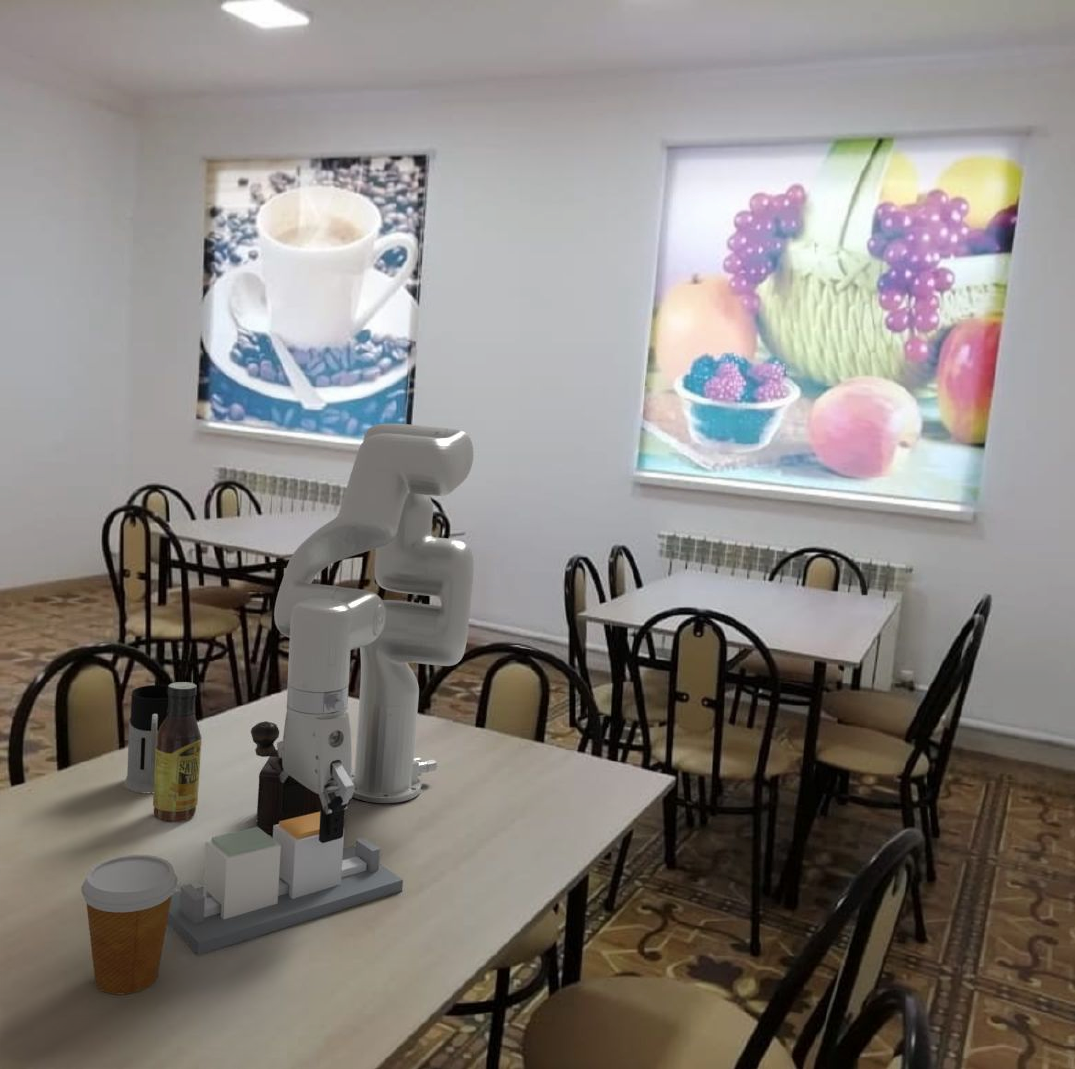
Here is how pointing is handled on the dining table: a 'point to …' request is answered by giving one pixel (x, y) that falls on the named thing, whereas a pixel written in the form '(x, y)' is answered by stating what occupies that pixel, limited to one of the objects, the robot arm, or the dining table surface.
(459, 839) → the dining table surface
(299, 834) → the module
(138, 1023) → the dining table surface
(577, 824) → the dining table surface
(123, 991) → the disposable coffee cup
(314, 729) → the robot arm
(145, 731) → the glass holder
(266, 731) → the pepper mill
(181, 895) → the rail board
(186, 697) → the sauce bottle
